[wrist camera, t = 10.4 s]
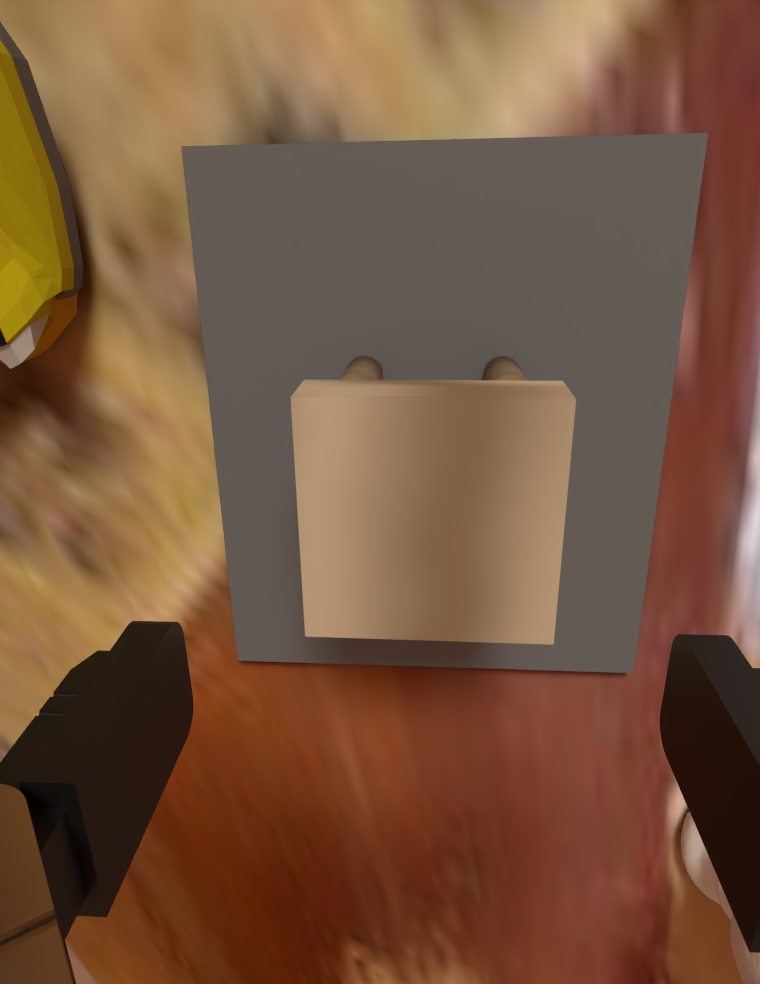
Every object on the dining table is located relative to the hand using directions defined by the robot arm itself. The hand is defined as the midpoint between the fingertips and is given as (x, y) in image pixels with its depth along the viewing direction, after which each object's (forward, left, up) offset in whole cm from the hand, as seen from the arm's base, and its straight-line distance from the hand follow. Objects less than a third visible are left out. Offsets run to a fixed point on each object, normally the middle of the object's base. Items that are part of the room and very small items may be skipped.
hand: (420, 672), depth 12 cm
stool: (0, 0, -13) cm, 13 cm away
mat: (0, 0, -13) cm, 13 cm away
